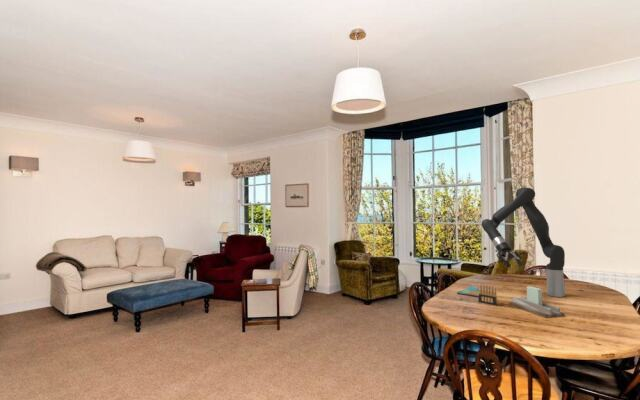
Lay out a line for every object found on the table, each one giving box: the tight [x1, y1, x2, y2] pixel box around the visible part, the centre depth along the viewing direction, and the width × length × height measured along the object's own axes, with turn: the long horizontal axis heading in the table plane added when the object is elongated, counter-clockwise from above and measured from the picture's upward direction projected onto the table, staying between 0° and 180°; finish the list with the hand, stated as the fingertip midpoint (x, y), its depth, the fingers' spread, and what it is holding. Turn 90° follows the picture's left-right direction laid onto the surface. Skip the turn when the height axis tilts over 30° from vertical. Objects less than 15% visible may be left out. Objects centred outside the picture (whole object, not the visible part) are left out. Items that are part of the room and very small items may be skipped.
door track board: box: [508, 295, 566, 319], centre depth 199 cm, size 12×26×4 cm, turn 12°
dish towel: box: [456, 285, 494, 299], centre depth 240 cm, size 17×23×2 cm
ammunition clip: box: [478, 282, 498, 306], centre depth 214 cm, size 11×2×12 cm, turn 39°
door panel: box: [526, 286, 543, 306], centre depth 199 cm, size 3×8×11 cm, turn 12°
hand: (515, 266), depth 214 cm, fingers open, 8 cm apart
